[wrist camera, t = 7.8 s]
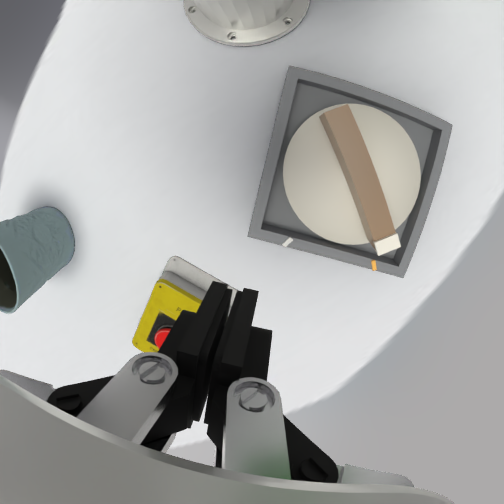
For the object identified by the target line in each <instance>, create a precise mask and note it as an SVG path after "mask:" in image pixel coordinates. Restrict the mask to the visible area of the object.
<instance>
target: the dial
mask: <svg viewBox="0 0 504 504" xmlns="http://www.w3.org/2000/svg"><path fill="white" fill-rule="evenodd" d="M283 180H284V187H285V191H286V195H287V198H288V200H289V203H290V205H291V207H292V209H293V210H294V212H295V213H296V215H297V216H298V218H299V219H300V220H301V221H302V222H303V223H304V224H305V225H306V226H307V227H308V228H309V229H310V230H311V231H313V232H314V233H316V234H317V235H319V236H321V237H323V238H325V239H327V240H330V241H333V242H336V243H341V244H349V245H357V244H365V243H370V244H371V245H372V247H373V248H374V249H375V251H376V252H377V255H378V256H380V255H382V254H385V253H387V252H390V251H392V250H394V249H397V248H399V247H401V245H400V241H399V237H398V234H397V233H396V232H395V229H397V228H398V227H399V226H400V225H401V224H402V223H403V222H404V221H405V220H406V218H407V217H408V215H409V214H410V212H411V210H412V209H413V207H414V205H415V202H416V200H417V197H418V193H419V189H420V181H421V170H420V163H419V158H418V154H417V151H416V149H415V146H414V144H413V142H412V140H411V139H410V137H409V135H408V134H407V133H406V131H405V130H404V129H403V127H402V126H401V125H400V124H399V123H398V122H397V121H395V120H394V119H393V118H392V117H390V116H389V115H387V114H386V113H384V112H382V111H380V110H378V109H376V108H373V107H370V106H366V105H361V104H339V105H334V106H331V107H328V108H325V109H323V110H321V111H319V112H317V113H315V114H314V115H312V116H311V117H310V118H308V119H307V120H306V121H305V122H304V123H303V124H302V125H301V126H300V127H299V128H298V130H297V131H296V132H295V134H294V136H293V137H292V139H291V141H290V143H289V145H288V148H287V151H286V154H285V158H284V164H283Z"/></svg>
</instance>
